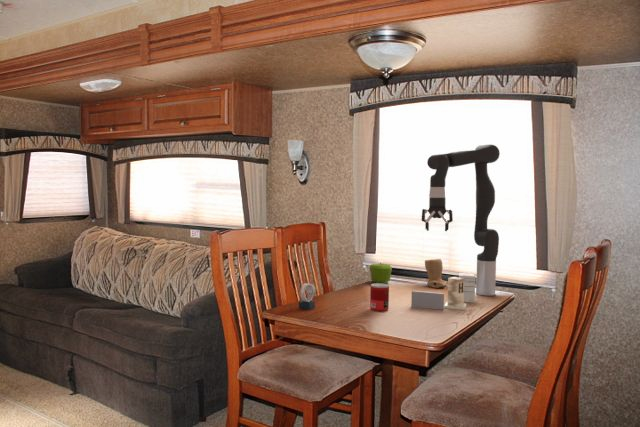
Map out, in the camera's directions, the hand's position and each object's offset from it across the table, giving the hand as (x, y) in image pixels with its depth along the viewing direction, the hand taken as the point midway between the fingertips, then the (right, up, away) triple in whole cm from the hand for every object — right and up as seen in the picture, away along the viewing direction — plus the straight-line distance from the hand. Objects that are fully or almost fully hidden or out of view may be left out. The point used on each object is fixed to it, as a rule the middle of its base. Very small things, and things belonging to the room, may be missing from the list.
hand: (436, 230), depth 248 cm
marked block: (+5, -33, -13) cm, 36 cm away
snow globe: (-61, -33, -20) cm, 73 cm away
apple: (-21, -31, +45) cm, 59 cm away
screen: (-8, -34, -16) cm, 38 cm away
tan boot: (+7, -32, +38) cm, 50 cm away
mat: (+5, -34, -13) cm, 37 cm away
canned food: (-30, -34, -21) cm, 50 cm away
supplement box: (+14, -34, +1) cm, 36 cm away
